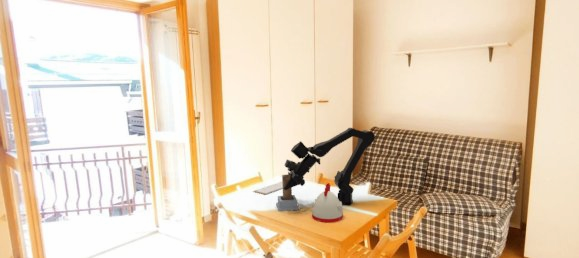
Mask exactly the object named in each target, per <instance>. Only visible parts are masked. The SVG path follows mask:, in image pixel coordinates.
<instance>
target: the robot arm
mask: <svg viewBox="0 0 579 258" xmlns="http://www.w3.org/2000/svg"><path fill="white" fill-rule="evenodd" d="M352 137H355V138H357V143H356V146H355V148H354V150H353V152H352V153H351V155H350V157H349V159H348V161H346V162H347V163H346V165H345V166H344V167H343V169H342V170H341V171H339V170H338V171H336V172H337V173H336V174H335V176H334V177H333V178H334V179H333V180H334V181H333V182H334V185H335V186H336V187H337V188H338V193H337V198H338V199H339V201H340V202H342V205H347V206H352V203H354V200H353V193H354V188H353V187H352V186H351V185H350V184H351V181H352V174H353V173H354V171H355V169H356V167H357V165H358V163H359V161H361V158H362V157H363V154H364V152H365V150H366V149H368V148H369V147H370V146H371V145H372V144H373V143H374V141H375V139H376V136H375V133H374V132H372V131H369V130H366V129H364V130H359V129H356V128H354V127H348V128H347V129H345V130H343V131H342V132H339V134H337V135H335V136H333V137H331V138H329V139H328V140H325V141H321V142H318V143H315V144H314V145H313V146H309V147H307V146H306V145H305V144H304V143H303V142H302V141H301V140H300V141H299V142H298V143H296V144H294V145H293V147H292V148H291V150H290V152H291V153H292V154H293V155H295V156H296V157H297V158H298V159H302V160H301V161H297V162H295V161H293V160H290V159H286V161H285V163H284V167H285V168H287V171H288V172H287V175H288V174H290V180H289V182H288V183H287V185H286V186H285V188H284V189H285V190H287V189H289V188H292V189H293V187H297V186H301V187H303V186H304V185H305V183H306V180H305V179H304V178H305V177H304V176H305V175H306V174H307V173H309V172H310V170H311V169H312V168H313V166H315V164H316V163H317V164H318V165H321V158H323V157H325V156H326V155H328V154H329V152H330V151H331V150H332V149H334V147H337V146H338V145H340V144H341V143H344V142H345V141H347V140H349V139H351V138H352Z"/></svg>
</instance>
